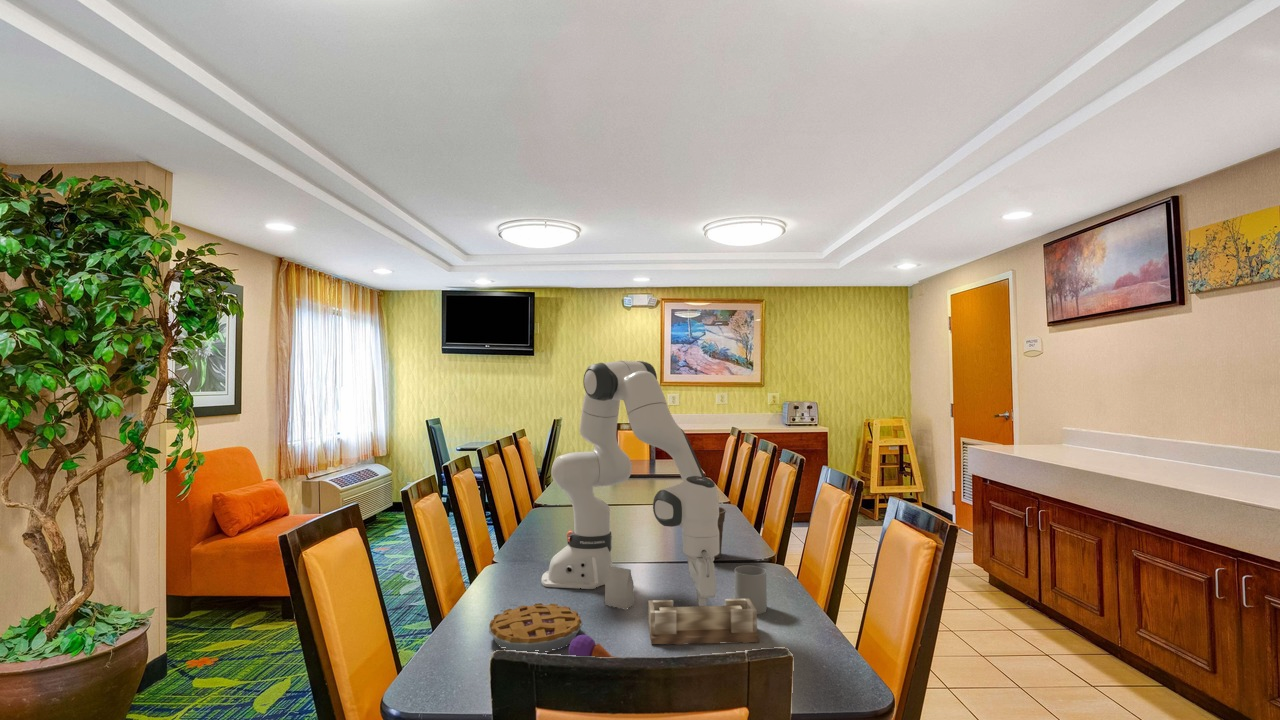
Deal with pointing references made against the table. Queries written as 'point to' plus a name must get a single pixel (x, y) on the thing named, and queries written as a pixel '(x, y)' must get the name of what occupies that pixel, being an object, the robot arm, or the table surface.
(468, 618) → the table surface
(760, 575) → the cup
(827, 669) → the table surface
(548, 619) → the pie
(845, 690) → the table surface
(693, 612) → the slat
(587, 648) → the ice cream cone
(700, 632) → the endcap rack
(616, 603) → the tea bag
